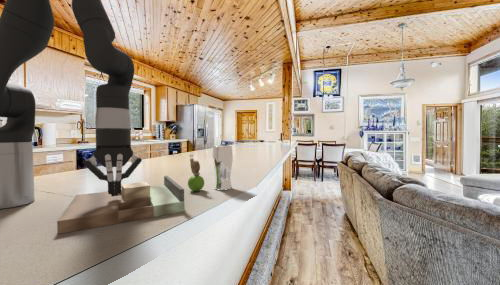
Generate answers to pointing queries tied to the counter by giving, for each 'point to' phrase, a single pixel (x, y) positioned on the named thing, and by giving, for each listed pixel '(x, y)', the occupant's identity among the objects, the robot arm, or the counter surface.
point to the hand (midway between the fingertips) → (115, 195)
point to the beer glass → (222, 166)
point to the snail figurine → (195, 176)
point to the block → (135, 190)
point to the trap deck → (120, 207)
